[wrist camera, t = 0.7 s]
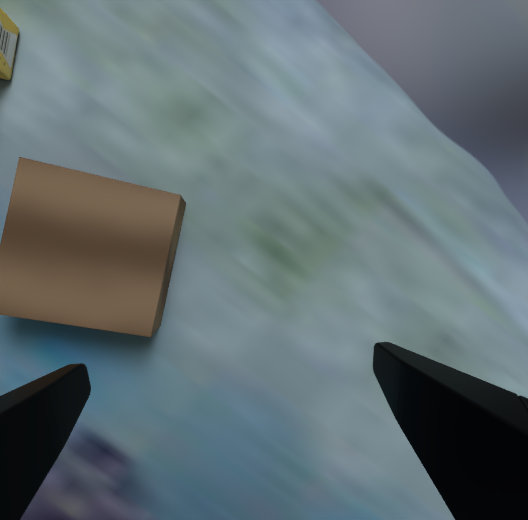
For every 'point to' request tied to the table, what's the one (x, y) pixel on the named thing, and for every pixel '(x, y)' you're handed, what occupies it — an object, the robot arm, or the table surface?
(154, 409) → the table surface
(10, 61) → the candy box
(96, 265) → the walnut plinth
